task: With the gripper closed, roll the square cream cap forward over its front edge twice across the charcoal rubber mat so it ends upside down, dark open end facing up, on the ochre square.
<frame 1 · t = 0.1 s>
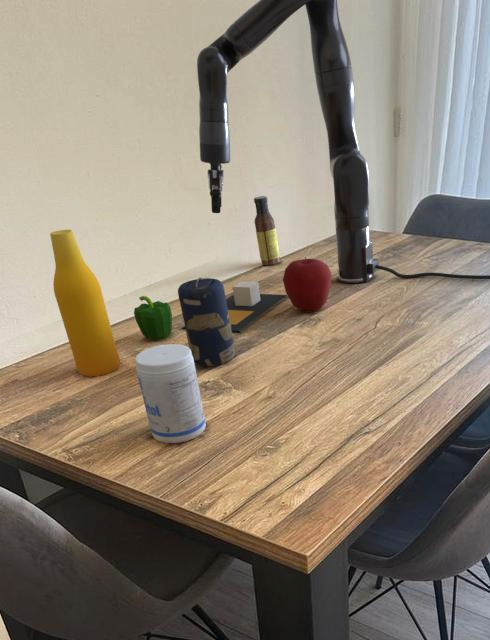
hand: (216, 210, 177), 22 cm above the table, tool pointing down, fingers open, 8 cm apart
apple: (310, 311, 170), on the table
mat: (237, 312, 174), on the table
beer bottle: (100, 369, 148), on the table
bell pepper: (158, 338, 162), on the table
cap: (248, 303, 178), resting on mat
canister: (214, 361, 146), on the table
supplement tub: (180, 433, 119), on the table
sauce bottle: (270, 264, 214), on the table
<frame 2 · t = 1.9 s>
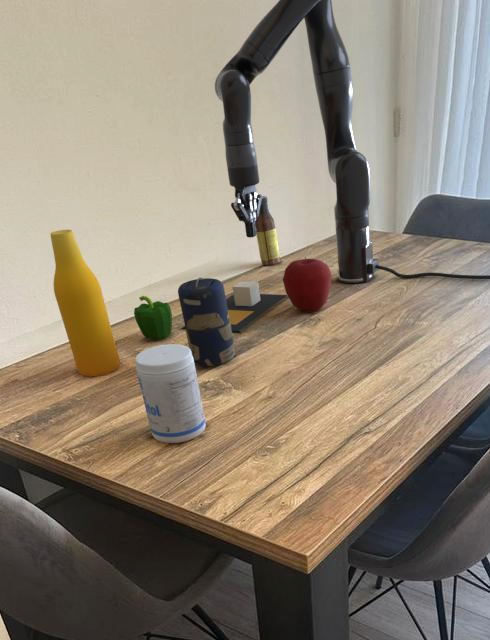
hand: (251, 236, 175), 16 cm above the table, tool pointing down, fingers closed
nothing on the table moved.
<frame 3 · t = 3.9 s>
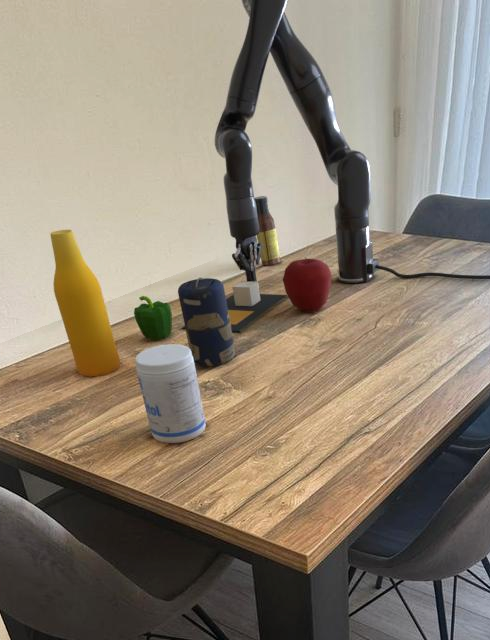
hand: (252, 284, 179), 4 cm above the table, tool pointing down, fingers closed
cap: (248, 303, 178), point 1 cm above the table, touching gripper, mat
everything else where it was.
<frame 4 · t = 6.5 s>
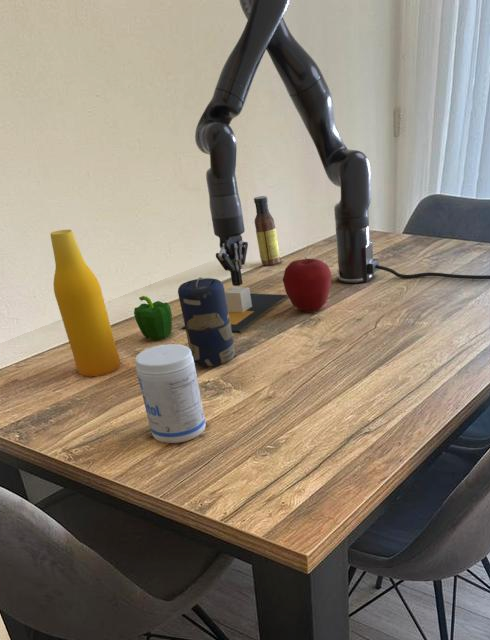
hand: (237, 284, 172), 7 cm above the table, tool pointing down, fingers closed
cap: (242, 296, 175), point 3 cm above the table, tilted 90°, touching mat
everything else where it was.
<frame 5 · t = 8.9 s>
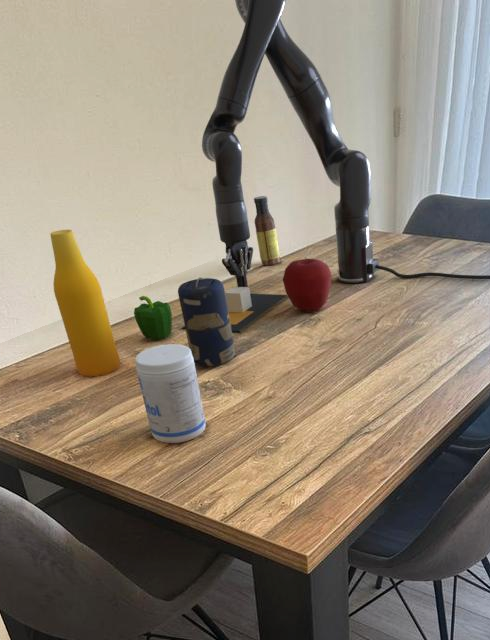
hand: (243, 289, 175), 4 cm above the table, tool pointing down, fingers closed
cap: (242, 296, 175), point 3 cm above the table, tilted 91°, touching gripper, mat
everything else where it was.
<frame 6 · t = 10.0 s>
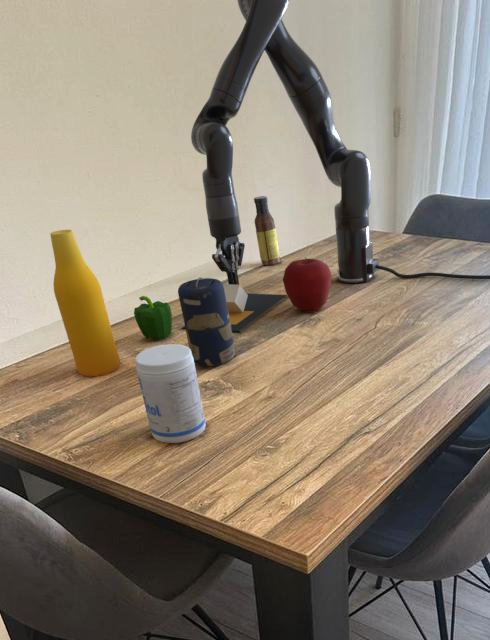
hand: (234, 286, 171), 7 cm above the table, tool pointing down, fingers closed
cap: (235, 289, 171), point 6 cm above the table, tilted 131°, touching gripper, mat
everything else where it was.
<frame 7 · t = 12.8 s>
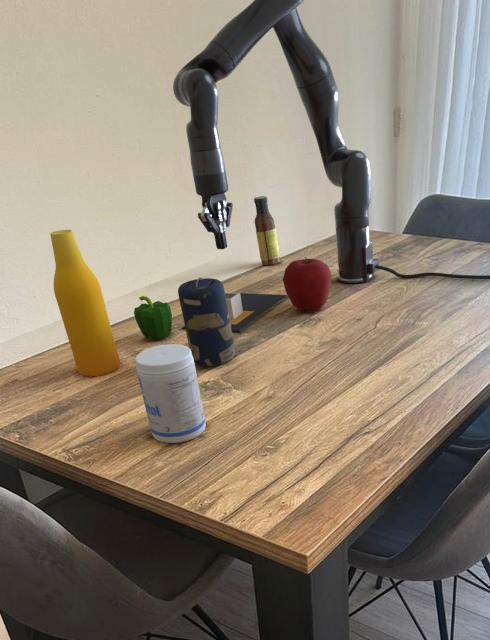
hand: (222, 248, 163), 17 cm above the table, tool pointing down, fingers closed
cap: (226, 295, 168), point 6 cm above the table, tilted 180°, touching mat
everything else where it was.
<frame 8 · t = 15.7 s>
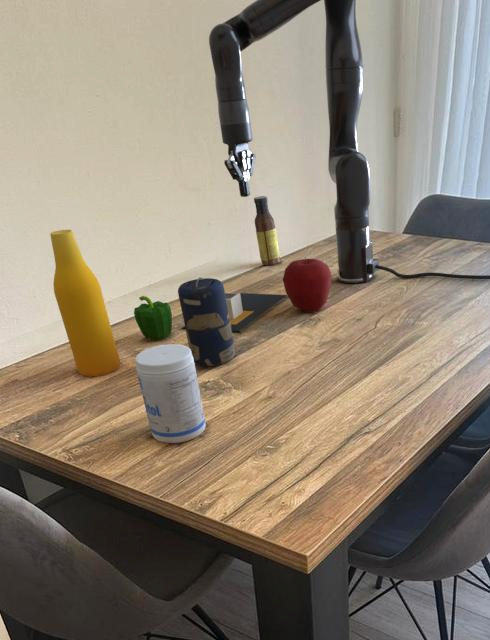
hand: (245, 196, 175), 25 cm above the table, tool pointing down, fingers closed
nothing on the table moved.
at the end: cap tilted 180°; cap inside the target area (1.2 cm from its centre), point 5.6 cm above the table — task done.
